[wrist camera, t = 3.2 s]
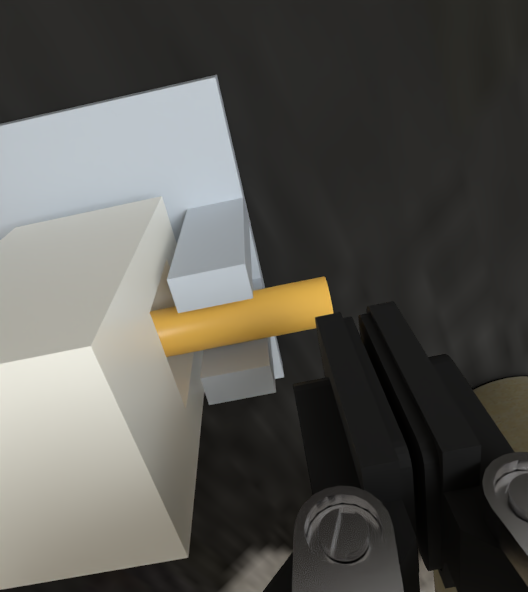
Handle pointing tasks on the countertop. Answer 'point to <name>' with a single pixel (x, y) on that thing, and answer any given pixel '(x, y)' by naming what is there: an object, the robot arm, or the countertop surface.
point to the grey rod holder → (182, 215)
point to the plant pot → (503, 422)
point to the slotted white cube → (93, 399)
